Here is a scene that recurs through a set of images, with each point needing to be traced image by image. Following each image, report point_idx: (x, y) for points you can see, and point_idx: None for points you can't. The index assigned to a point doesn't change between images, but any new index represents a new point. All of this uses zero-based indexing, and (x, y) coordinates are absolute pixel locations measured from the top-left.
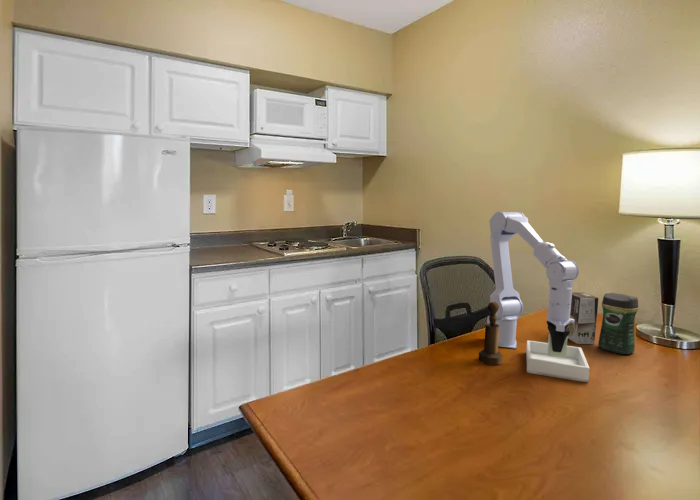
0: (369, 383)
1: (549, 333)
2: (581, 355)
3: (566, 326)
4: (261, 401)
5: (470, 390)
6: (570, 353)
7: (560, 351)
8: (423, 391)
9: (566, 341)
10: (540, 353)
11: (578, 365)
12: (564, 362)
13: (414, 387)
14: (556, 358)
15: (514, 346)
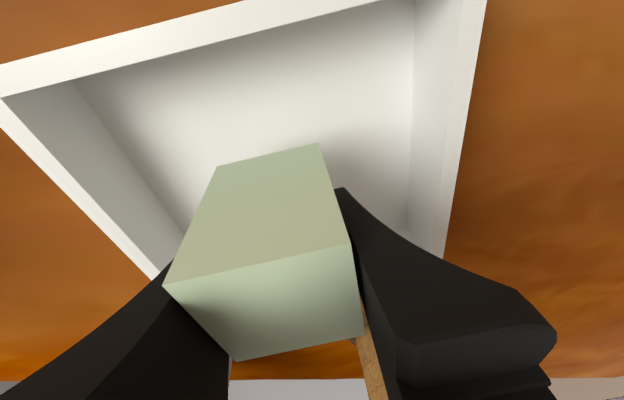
0: (554, 356)
1: (310, 346)
2: (194, 47)
3: (108, 384)
4: (613, 375)
5: (575, 276)
6: (86, 133)
7: (347, 192)
8: (583, 315)
9: (339, 217)
10: None
11: (460, 42)
12: (217, 137)
13: (565, 327)
14: (189, 178)
15: None
